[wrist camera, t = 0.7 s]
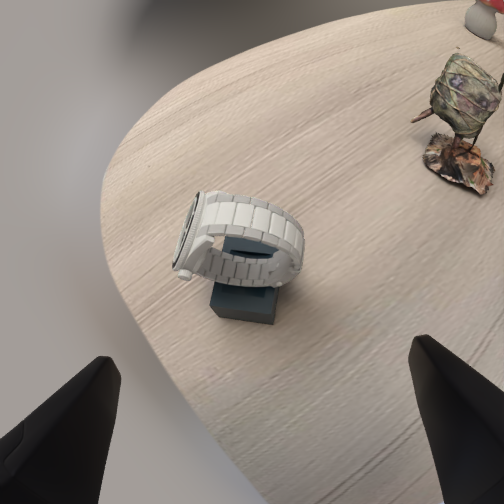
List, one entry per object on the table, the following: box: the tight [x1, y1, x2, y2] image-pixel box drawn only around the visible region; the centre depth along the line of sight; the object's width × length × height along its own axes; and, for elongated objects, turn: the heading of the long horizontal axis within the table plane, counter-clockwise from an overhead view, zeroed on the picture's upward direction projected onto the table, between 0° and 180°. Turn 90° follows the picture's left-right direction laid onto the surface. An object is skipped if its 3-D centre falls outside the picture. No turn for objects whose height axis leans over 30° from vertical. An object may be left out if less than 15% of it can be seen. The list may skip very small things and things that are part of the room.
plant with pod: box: [410, 47, 504, 195], centre depth 21 cm, size 8×11×20 cm
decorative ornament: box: [465, 0, 504, 40], centre depth 38 cm, size 9×6×15 cm
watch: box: [172, 190, 305, 325], centre depth 21 cm, size 6×8×11 cm
